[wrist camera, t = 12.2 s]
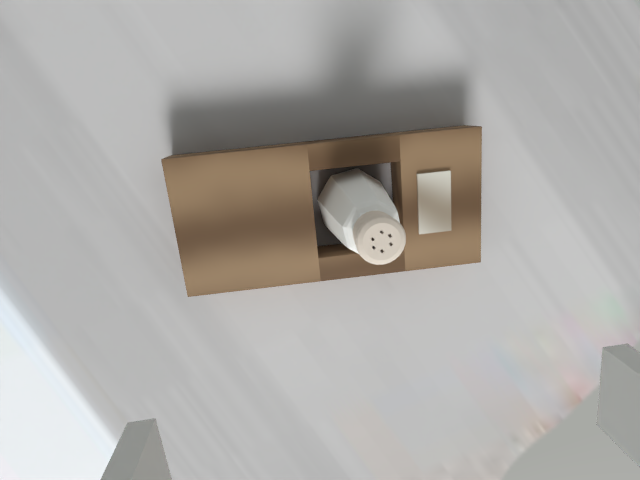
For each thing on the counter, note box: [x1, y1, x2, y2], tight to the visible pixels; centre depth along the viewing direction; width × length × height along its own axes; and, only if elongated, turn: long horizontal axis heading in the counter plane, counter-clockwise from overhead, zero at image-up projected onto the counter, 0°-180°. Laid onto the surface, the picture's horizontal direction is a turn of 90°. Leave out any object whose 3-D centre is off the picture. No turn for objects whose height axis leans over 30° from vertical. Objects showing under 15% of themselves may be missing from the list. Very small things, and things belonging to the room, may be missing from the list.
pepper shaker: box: [317, 168, 406, 265], centre depth 29 cm, size 5×5×11 cm
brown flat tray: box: [161, 125, 482, 297], centre depth 33 cm, size 10×22×3 cm, turn 95°
